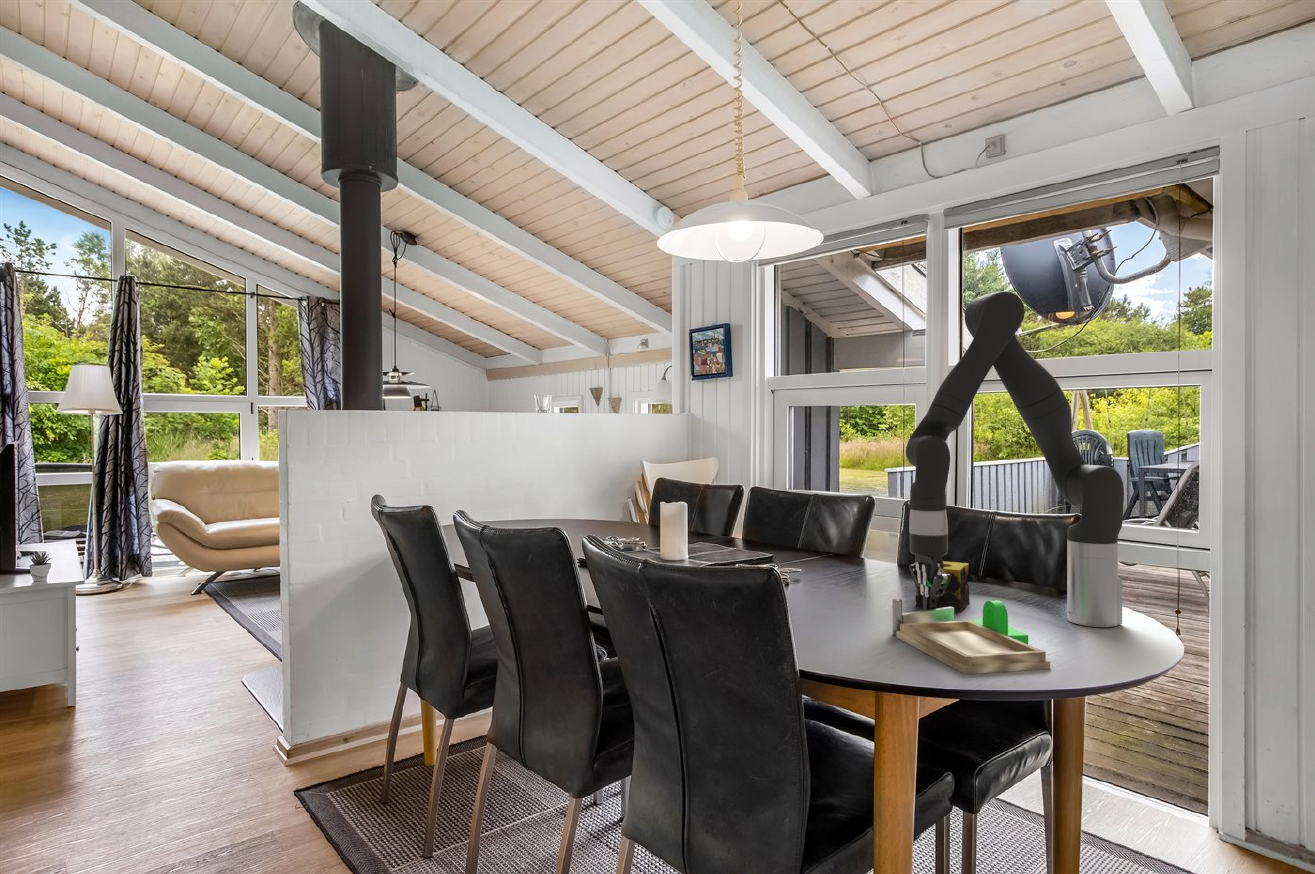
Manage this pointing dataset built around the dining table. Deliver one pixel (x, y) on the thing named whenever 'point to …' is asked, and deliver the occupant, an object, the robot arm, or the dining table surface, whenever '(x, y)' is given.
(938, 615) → the l-shaped metal bracket
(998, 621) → the mechanical part
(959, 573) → the yellow spotted cube
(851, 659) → the dining table surface
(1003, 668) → the wooden tray
